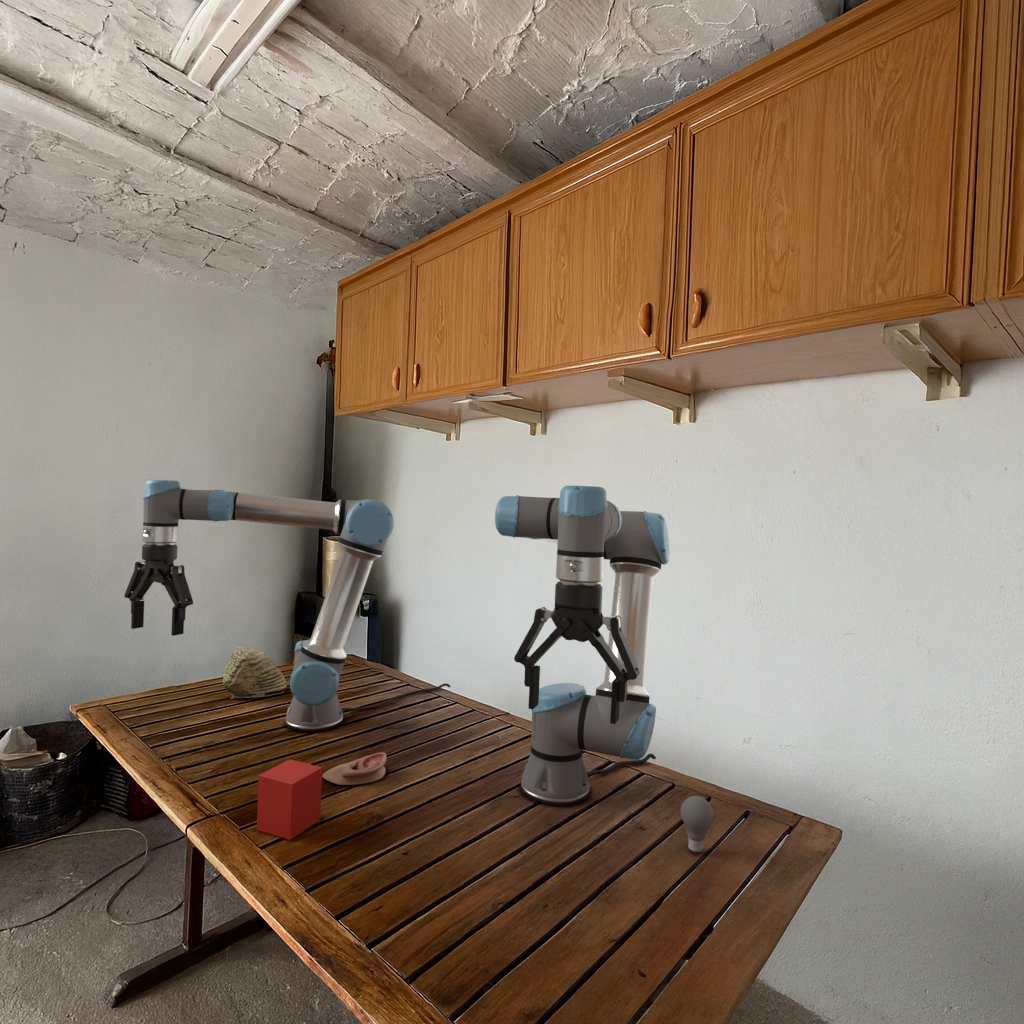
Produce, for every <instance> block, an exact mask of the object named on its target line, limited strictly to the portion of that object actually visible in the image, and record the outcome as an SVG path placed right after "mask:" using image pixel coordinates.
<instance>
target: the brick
mask: <svg viewBox="0 0 1024 1024" xmlns="http://www.w3.org/2000/svg"><path fill="white" fill-rule="evenodd" d="M322 775H323V767H322V766H318V765H314V764H310V763H306V762H302V761H300V760H299V761H298V760H295V759H288V760H286V761H284V762H282V763H279V764H278V765H276V766H274V767H272V768H270V769H268V770H266V771H264V772H262V773H260V774H258V781H257V782H258V783H257V787H258V788H257V812H256V817H257V818H256V831H259V832H261V833H266V834H269V835H272V836H274V837H278V838H282V839H285V840H288V841H291V840H293V839H294V838H297V836H299V835H300V834H302V833H303V832H305V831H306V830H307V829H309V828H311V827H312V826H313V825H316V823H318V822H320V821H321V813H322V812H321V811H322V810H321V808H322V787H323V786H322V785H323V777H322Z"/></svg>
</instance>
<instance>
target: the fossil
mask: <svg viewBox="0 0 1024 1024" xmlns="http://www.w3.org/2000/svg"><path fill="white" fill-rule="evenodd" d="M222 676H223V677H222V685H223V687H224V688H225V690H226V691H228V693H229V698H230V699H250V698H264V697H271V696H275V695H281V694H284V693H285V691H286V689H287V687H288V686H287V680H286V678H285V676H284V674H283V673H282V672H281V669H279V668H278V667H277V665H276V663H275V662H274V660H273V659H272V658H271V657H270V656H269V655H268V654H267V653H266V652H265V650H264V649H263V648H260V647H258V648H251V647H247V646H246V647H245V646H238V647H237V648H236V649H235V650H233V651H232V653H231V656H230V657H229V659H228V660H227V663H226V666H225V668H224V671H223V675H222Z"/></svg>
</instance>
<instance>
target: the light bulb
mask: <svg viewBox="0 0 1024 1024" xmlns="http://www.w3.org/2000/svg"><path fill="white" fill-rule="evenodd" d="M680 817H681V820H682V822H683V824H684V826H685V829H686V834H687V836H688V837H687V838H688V845H687V847H688V849H689V850H690V851H692V852H695V853H699V852H702V851H703V848H704V847H703V846H704V839H705V838H706V833H707V831H708V830H709V829H710V828H711V826H712V824H713V822H714V818H715V813H714V809H713V807H712V805H711V804H710V802H709V801H708V800H707V799H705V797H702V796H699V795H692V796H689V797H687V798H686V799H685V800H684V801H683V802H682V803H681V805H680Z"/></svg>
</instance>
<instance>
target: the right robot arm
mask: <svg viewBox="0 0 1024 1024" xmlns="http://www.w3.org/2000/svg"><path fill="white" fill-rule="evenodd" d="M494 512H495V513H494V525H495V528H496V531H497V532H498V533H499V535H500V536H504V537H509V538H514V539H515V538H523V539H524V538H525V539H530V540H537V541H542V542H547V543H551V544H555V545H557V546H556V548H557V549H556V566H555V567H556V568H555V569H556V570H555V578H556V579H557V580H558V581H557V582H556V583H555V585H554V586H555V587H554V608H553V610H551V609H547V608H546V607H545V606H542V607H539V608H537V609H535V611H534V617H533V622H532V624H531V626H530V627H529V629H528V631H527V633H526V634H525V637H524V639H523V641H521V644H520V646H519V648H518V649H517V651H516V653H515V655H514V657H513V659H514V662H515V663H518V664H521V665H522V666H523V667H524V679H523V681H524V686H525V687H527V688H529V689H528V707H527V708H528V709H529V710H531V729H530V730H531V733H530V737H531V738H530V753H529V757H528V759H527V762H526V765H525V766H524V769H523V773H522V775H521V779H520V791H521V792H522V794H524V796H525V797H527V798H528V799H530V800H532V801H535V802H536V803H540V804H544V805H551V806H571V805H575V804H579V803H581V802H583V801H585V800H586V799H587V798H588V797H589V794H590V781H589V777H591V776H598V775H604V774H607V773H610V772H612V771H614V770H616V769H617V768H618V767H621V766H632V765H633V766H634V765H635V766H636V765H641V764H645V763H646V762H647V761H649V759H652V760H656V759H657V757H656V755H655V754H653V753H648V754H647V752H648V749H649V748H650V744H651V740H652V737H653V732H654V729H655V723H656V714H657V707H656V705H654V704H653V703H650V697H651V696H650V694H649V693H648V691H647V690H646V688H645V686H644V685H645V684H644V683H645V672H646V662H647V651H648V639H649V628H650V620H651V619H650V618H651V609H652V608H651V607H652V596H653V587H654V586H653V585H654V579H655V578H656V577H657V576H658V575H659V574H661V572H662V565H663V566H665V565H668V564H669V562H670V539H669V530H668V523H667V520H666V518H665V516H664V515H663V514H661V513H658V512H649V511H645V510H643V511H635V510H633V511H632V510H620V509H619V507H617V505H616V504H614V503H613V502H611V501H610V500H608V499H607V490H606V489H605V488H604V487H603V486H593V485H565V486H563V487H562V488H561V490H560V493H559V497H541V496H524V495H523V496H522V495H518V494H517V495H504V496H502V497H500V498H499V500H498V502H497V504H496V506H495V511H494ZM605 560H609V569H610V570H611V571H612V572H613V574H614V583H613V591H612V602H611V610H610V611H611V612H610V616H604V615H603V611H602V608H603V606H602V605H603V590H604V589H603V586H602V584H600V583H601V582H602V581H604V563H605ZM550 619H551V621H552V622H553V624H554V626H555V628H554V629H553V631H552V632H551V633H550V634H549V635H548V637H547V638H546V639H545V640H544V641H543V642H542V643H541V644H540V645H538V647H537V648H536V650H534V651H533V653H531V655H530V656H529V653H530V651H531V649H532V647H533V645H534V644H535V642H536V640H537V638H538V636H539V635H540V633H541V631H542V629H543V628H544V625H545V624H546V623H547V622H549V620H550ZM603 625H605V627H606V629H607V630H608V640H607V641H606V640H605V638H604V636H603V634H602V633H601V632H600V628H601V627H602V626H603ZM561 638H563V639H565V641H576V642H579V643H585V642H589V643H590V645H591V646H592V647H593V648H594V649H595V650H596V651H597V653H598V654H599V655H600V657H601V658H602V660H603V661H604V663H605V668H604V676H603V677H604V678H603V681H602V682H601V683H600V684H598V685H597V686H596V687H595V695H591V694H587V689H586V687H585V686H584V685H582V684H580V683H579V684H578V683H573V682H557V683H551V684H547V685H543V686H542V687H540V680H541V665H538V664H537V663H538V661H540V659H541V658H542V657H543V656H544V655H545V654H546V653H548V651H549V650H550V649H551V648H552V647H553V646H554V645H555V644H556V643H557V642H558V641H559V640H560V639H561ZM536 664H537V665H536ZM584 751H587V752H592V753H597V754H603V755H606V756H607V755H608V756H613V757H618V758H619V759H631V760H621V761H618V762H614V763H613V764H612V765H610V766H608V767H606V768H602V769H596V770H591V771H587V770H586V766H585V761H584V758H583V755H584V754H583V752H584ZM646 754H647V755H646Z"/></svg>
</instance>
